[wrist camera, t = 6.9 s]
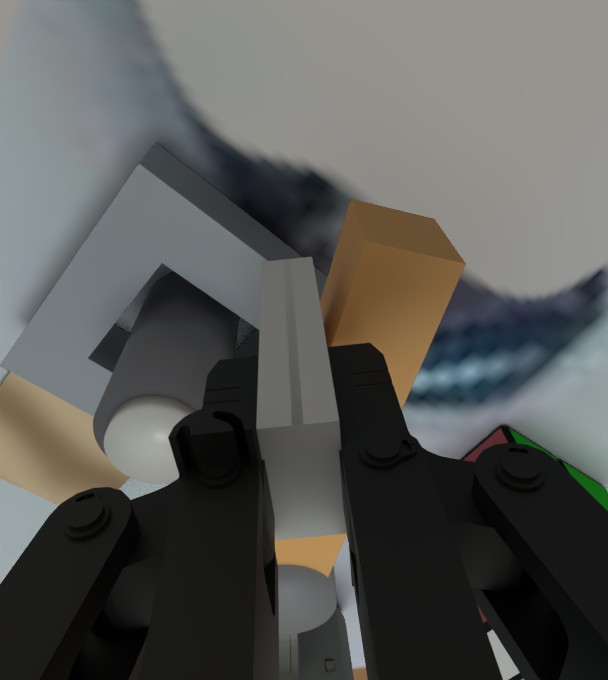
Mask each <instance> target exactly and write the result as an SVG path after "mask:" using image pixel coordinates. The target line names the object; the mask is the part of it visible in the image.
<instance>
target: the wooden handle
mask: <svg viewBox="0 0 608 680" xmlns="http://www.w3.org/2000/svg"><path fill="white" fill-rule="evenodd" d="M465 264H466V263H464V261H463V259H462V258H461V256H460V255H459V254H458V253H457V251H456V250H455V248H454V246H453V245H452V244H451V242H450V241H449V239H448V238H447V236H446V235H445V234H444V232H443V231H442V229H441V228H440V227H439V225H438V224H437V222H436V221H435V220H434V219H432V218H428V217H424V216H420V215H416V214H411V213H407V212H403V211H399V210H394V209H391V208H386V207H382V206H378V205H374V204H370V203H365V202H361V201H357V200H353V199H351V201H350V204H349V207H348V211H347V214H346V217H345V221H344V224H343V227H342V231H341V234H340V237H339V241H338V244H337V247H336V251H335V254H334V257H333V261H332V264H331V267H330V271H329V274H328V277H327V281H326V284H325V287H324V291H323V294H322V297H321V301H320V307H321V313H322V319H323V325H324V331H325V337H326V343H327V347H332V346H342V345H351V344H361V343H371V344H372V345H373V346H374V347H376V348H377V349H378V350H379V351H380V352H381V353H382V354H384V358H385V361H386V364H387V367H388V371H389V373H390V376H391V379H392V384H393V386H394V389H395V392H396V395H397V398H398V401H399V404H400V407H401V410H402V408H403V406H404V403H405V401H406V399H407V396H408V394H409V392H410V390H411V387H412V385H413V383H414V381H415V378H416V376H417V374H418V371H419V369H420V367H421V365H422V362H423V360H424V358H425V355H426V353H427V351H428V349H429V346H430V344H431V342H432V340H433V337H434V335H435V333H436V330H437V328H438V326H439V324H440V321H441V319H442V317H443V314H444V312H445V310H446V308H447V305H448V303H449V301H450V298H451V296H452V294H453V292H454V289H455V287H456V285H457V283H458V280H459V278H460V276H461V273H462V271H463V269H464V267H465ZM346 535H347V533H345V534H335V535H326V536H316V537H305V538H295V539H285V540H276V535H275V553H276V558H277V564H278V597H279V635H288V634H297V633H302V632H306V631H309V630H312V629H314V628H316V627H318V626H320V625H322V624H323V623H325V622H326V621H327V620H328V619H329V618H330V617H331V616H332V615H333V613H334V612H335V609H336V606H337V598H336V588H335V577H334V567H333V565H334V563H335V561H336V558H337V556H338V554H339V551H340V549H341V547H342V545H343V542H344V540H345V538H346Z"/></svg>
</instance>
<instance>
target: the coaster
mask: <svg viewBox="0 0 608 680" xmlns="http://www.w3.org/2000/svg"><path fill="white" fill-rule="evenodd" d="M93 419H94V416H92V415H90V414H88V413H86V412H84V411H82V410H81V409H79V408H77V407H75V406H73V405H71V404H69V403H68V402H66V401H64V400H62V399H60V398H58V397H56V396H55V395H53V394H51V393H49V392H47V391H45V390H43V389H42V388H40V387H38V386H36V385H34V384H32V383H30V382H29V381H27V380H25V379H23V378H21V377H19V376H17V375H16V374H14V373H12V372H10V373H9V374H8V376H7V377H6V378H5V380H4V381H3V383H2V384H1V385H0V478H1V479H3V480H5V481H8V482H10V483H12V484H14V485H16V486H18V487H21V488H23V489H25V490H27V491H29V492H32V493H34V494H36V495H38V496H40V497H42V498H45V499H47V500H49V501H51V502H53V503H55V504H58V505H60V504H61V503H62V502H64V501H66V500H67V499H69V498H70V497H72V496H74V495H75V494H77V493H80V492H83V491H86V490H88V489H91V488H99V487H111V488H114V489H119V488H120V487H121V486H122V485H123V484H124V483H125V482H126V481H127V480H128V479H129V478H130V477H129V476H127V475H125V474H123V473H122V472H121V471H119V470H118V469H117V468H116V467H115V466H114V465H113V464H112V463H111V462H110V460H109V459H108V457H107V456H106V455H105V454H104V453H103V452H102V450H101V449H100V447H99V446H98V444H97V442H96V439H95V436H94V433H93Z"/></svg>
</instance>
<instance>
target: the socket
mask: <svg viewBox="0 0 608 680" xmlns="http://www.w3.org/2000/svg"><path fill="white" fill-rule="evenodd" d="M295 258H303V257H302V256H301V255H299V254H298V253H297V252H296V251H294V250H293V249H292V248H291V247H289V246H288V245H287V244H285V243H284V242H283V241H282V240H280V239H279V238H278V237H276V236H275V235H274V234H273V233H271V232H270V231H269V230H268V229H266V228H265V227H264V226H262V225H261V224H260V223H259V222H257V221H256V220H255V219H253V218H252V217H251V216H250V215H248V214H247V213H246V212H244V211H243V210H242V209H241V208H239V207H238V206H237V205H236V204H234V203H233V202H232V201H230V200H229V199H228V198H227V197H225V196H224V195H223V194H221V193H220V192H219V191H218V190H216V189H215V188H214V187H213V186H211V185H210V184H209V183H207V182H206V181H205V180H204V179H202V178H201V177H200V176H198V175H197V174H196V173H195V172H193V171H192V170H191V169H189V168H188V167H187V166H186V165H184V164H183V163H182V162H181V161H179V160H178V159H177V158H175V157H174V156H173V155H172V154H170V153H169V152H168V151H166V150H165V149H164V148H163V147H161V146H160V145H159V144H158V143H156V144H155V145H154V146H153V147H152V148H151V149H150V151H149V152H148V153H147V154H146V155H145V156H144V158H143V159H142V160H141V161H140V162H139V164H138V165H137V166H136V168H135V169H134V171H133V172H132V174H131V175H130V177H129V178H128V180H127V181H126V182H125V184H124V185H123V187H122V188H121V190H120V191H119V193H118V194H117V196H116V197H115V198H114V200H113V201H112V203H111V204H110V206H109V207H108V209H107V210H106V212H105V213H104V214H103V216H102V217H101V219H100V220H99V222H98V223H97V225H96V226H95V228H94V229H93V230H92V232H91V233H90V235H89V236H88V238H87V239H86V241H85V242H84V244H83V245H82V246H81V248H80V249H79V251H78V252H77V254H76V255H75V257H74V258H73V260H72V261H71V262H70V264H69V265H68V267H67V268H66V270H65V271H64V273H63V274H62V276H61V277H60V278H59V280H58V281H57V283H56V284H55V286H54V287H53V289H52V290H51V292H50V293H49V294H48V296H47V297H46V299H45V300H44V302H43V303H42V305H41V306H40V308H39V309H38V310H37V312H36V313H35V315H34V316H33V318H32V319H31V321H30V322H29V324H28V325H27V326H26V328H25V329H24V331H23V332H22V334H21V335H20V337H19V338H18V340H17V341H16V342H15V344H14V345H13V347H12V348H11V350H10V351H9V353H8V354H7V356H6V357H5V358H4V360H3V361H2V363H1V364H0V366H1V367H3V368H4V369H6V370H8V371H10V372H12V373H14V374H16V375H17V376H19V377H21V378H23V379H25V380H27V381H29V382H30V383H32V384H34V385H36V386H38V387H40V388H42V389H43V390H45V391H47V392H49V393H51V394H53V395H55V396H56V397H58V398H60V399H62V400H64V401H66V402H68V403H69V404H71V405H73V406H75V407H77V408H79V409H81V410H82V411H84V412H86V413H88V414H90V415H92V416H94V415H95V412H96V410H97V407H98V405H99V403H100V401H101V398H102V396H103V394H104V392H105V389H106V387H107V385H108V383H109V380H110V378H111V376H112V374H113V371H114V369H115V367H116V365H117V362H118V360H119V358H120V356H121V353H122V351H123V349H124V347H125V344H126V342H127V340H128V338H129V335H130V334H129V333H127V332H126V331H124V330H122V329H121V328H119V327H118V326H116V325H114V324H115V323H116V321H117V320H118V319H119V317H120V316H121V315H122V314H123V312H124V311H125V310H126V308H127V307H128V306H129V305H130V303H131V302H132V301H133V299H134V298H135V297H136V296H137V294H138V293H139V292H140V290H141V289H142V288H143V287H144V285H145V284H146V283H147V281H148V280H149V279H150V278H151V276H152V275H153V274H154V272H155V271H156V270H157V269H158V267H159V266H160V265H161V263H163V264H164V265H166V266H167V267H169V268H170V269H171V270H173V271H174V272H176V273H177V274H179V275H180V276H182V277H183V278H184V279H186V280H187V281H189V282H190V283H192V284H193V285H195V286H196V287H198V288H199V289H200V290H202V291H203V292H205V293H206V294H208V295H209V296H211V297H212V298H213V299H215V300H216V301H218V302H219V303H221V304H222V305H224V306H225V307H227V308H228V309H229V310H231V311H232V312H234V313H235V314H237V315H238V316H240V317H241V318H242V319H244V320H245V321H247V322H248V323H250V324H251V325H253V326H254V327H256V329H255V330H254V331H253V333H252V334H251V335H250V336H249V337H248V338H247V339H246V340H245V341H244V342H243V343H242V344H241V345H240V346H239V348H238V349H237V350H236V351H235V355H234V358H242V357H251V356H259V333H260V304H261V274H262V262H266V261H275V260H284V259H295ZM314 271H315V277H316V283H317V289H318V295H319V301H321V297H322V294H323V291H324V287H325V284H326V281H327V277H328V276H326V275H325V274H324V273H323V272H321V271H320V270H319V269H317V268H316V267H315V266H314Z"/></svg>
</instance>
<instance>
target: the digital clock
mask: <svg viewBox="0 0 608 680" xmlns="http://www.w3.org/2000/svg"><path fill="white" fill-rule="evenodd" d="M279 680H354V677H353V670H352V663H351V656H350V650H349V643H348V636H347V629H346V623H345V619H344V616H343V614H342V612H341V611H340V610H339V609H338V608H337V607H336V609H335V612H334V613H333V615H332V616H331V617H330V618H329V619H328V620H327V621H326V622H325V623H323V624H322V625H320V626H318V627H316V628H314V629H312V630H309V631H306V632H302V633H297V634H288V635H279Z"/></svg>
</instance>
